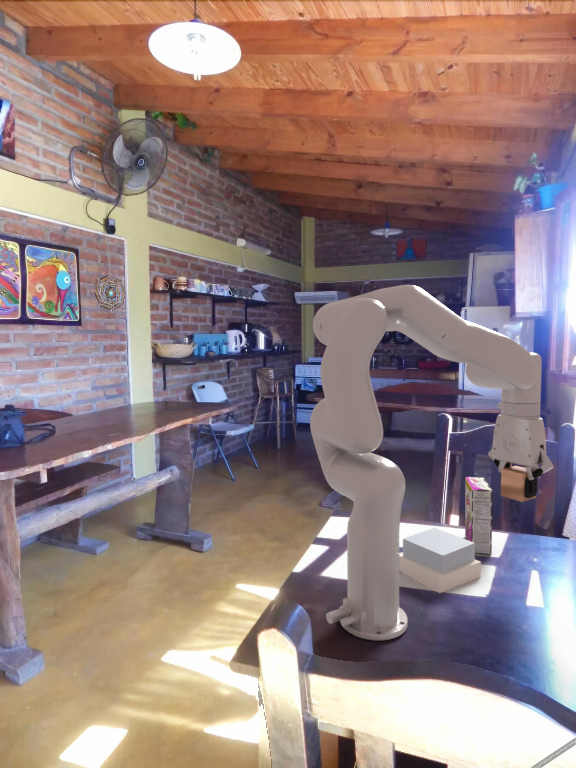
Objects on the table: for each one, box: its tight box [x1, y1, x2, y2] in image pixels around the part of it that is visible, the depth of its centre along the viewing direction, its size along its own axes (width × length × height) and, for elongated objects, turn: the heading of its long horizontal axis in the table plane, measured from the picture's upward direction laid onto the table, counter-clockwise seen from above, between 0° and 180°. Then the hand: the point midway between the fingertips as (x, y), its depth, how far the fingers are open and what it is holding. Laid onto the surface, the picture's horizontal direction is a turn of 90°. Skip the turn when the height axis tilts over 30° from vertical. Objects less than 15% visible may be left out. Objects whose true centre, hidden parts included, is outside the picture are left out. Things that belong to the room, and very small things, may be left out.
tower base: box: [399, 551, 482, 594], centre depth 110 cm, size 13×13×4 cm
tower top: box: [402, 527, 476, 574], centre depth 110 cm, size 11×11×4 cm
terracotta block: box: [500, 465, 537, 503], centre depth 106 cm, size 5×5×6 cm
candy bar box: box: [464, 476, 493, 556], centre depth 124 cm, size 11×5×16 cm, turn 168°
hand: (518, 492), depth 106 cm, fingers closed on terracotta block, 4 cm apart
